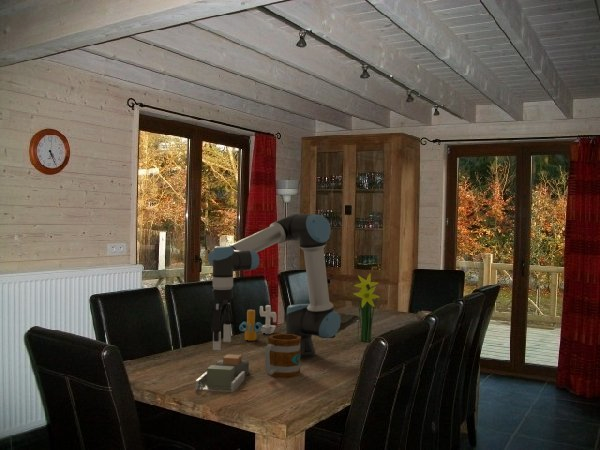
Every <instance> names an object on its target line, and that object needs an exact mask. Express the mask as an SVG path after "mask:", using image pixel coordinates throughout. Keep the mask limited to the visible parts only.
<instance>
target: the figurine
mask: <svg viewBox="0 0 600 450" xmlns="http://www.w3.org/2000/svg"><path fill="white" fill-rule="evenodd" d="M271 308H272V307H271V305H269V304H266V305H265V311H264V306H263V305H260V306H259V315H260V317H264V318H265V324H262V328H261V330H260V331H261V334H263V333H265V334H266V335H272V334H273V333H274V332H275V329H276V328H277V325H275V324H273V325H272V324H271V318H272V322H273V323H276V322H277V313H276V312H275V311H272V309H271ZM260 327H261V326H260Z"/></svg>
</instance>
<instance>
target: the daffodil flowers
mask: <svg viewBox="0 0 600 450" xmlns="http://www.w3.org/2000/svg"><path fill="white" fill-rule="evenodd" d="M371 277H372V275H371V272H369V273H368V275H367V278H366V279H365V278H363V277H362V276H360V275H359V274H358V275H357V278H358V279H359V281H360V283H357V284H354V285H353V287H355V288H360V290H359V292H354V293H352V295H353V297H354V298H355V300H356V303H357V307H358V308H357V309H358V321H359V322H358V325H357V335H359V333H360V342H364V343H367V344H368V343H369V342H371V341H372V329H373V319H374V313H375V307H376V303H377V301H378V299H379V298H381V294H379V295H377V294H376V292H377V291H378V290H379V288H377V286H376V285H378V284H379V282H376V281H371V279H372V278H371ZM376 288H377V289H376ZM357 297H359V298H361V300H360V299H359V298H357ZM373 299H375V300H374V301H373ZM359 330H360V331H359ZM356 339H357V340H359V337H357V338H356Z"/></svg>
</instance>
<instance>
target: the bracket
mask: <svg viewBox="0 0 600 450" xmlns="http://www.w3.org/2000/svg"><path fill="white" fill-rule="evenodd" d="M245 377H246V376H245V371H242V372H241V373H240V374H239V375H238V376H237V377H236V378H234V380H233V381H232V382H231V386H218V385H207V370H206V371H205V372H204V373H203V374H202V375H200V376H199V377H198V378H197V379H195V384H194V386H195V391H207V392H209V391H210V392H223V393H225V392H227V393H229V392H231V393H234V392H235V391H236V390H237V389H238V388H239V387H240V386H241V385H242V383H243V382H244V381H245Z"/></svg>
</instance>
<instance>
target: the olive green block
mask: <svg viewBox="0 0 600 450" xmlns="http://www.w3.org/2000/svg"><path fill="white" fill-rule="evenodd" d="M234 367H235V366H218V365H216V364H210V365H209V366H208V367H207V369H206V371H207V385H218V386H231V382H232V381H233V380H234Z"/></svg>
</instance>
